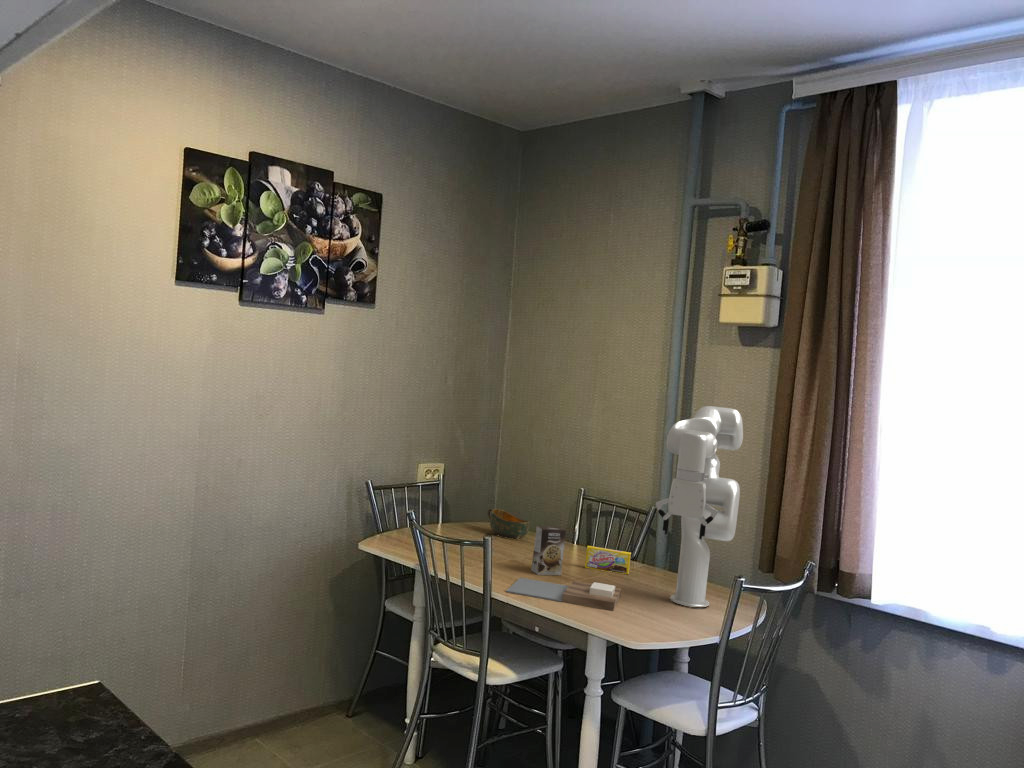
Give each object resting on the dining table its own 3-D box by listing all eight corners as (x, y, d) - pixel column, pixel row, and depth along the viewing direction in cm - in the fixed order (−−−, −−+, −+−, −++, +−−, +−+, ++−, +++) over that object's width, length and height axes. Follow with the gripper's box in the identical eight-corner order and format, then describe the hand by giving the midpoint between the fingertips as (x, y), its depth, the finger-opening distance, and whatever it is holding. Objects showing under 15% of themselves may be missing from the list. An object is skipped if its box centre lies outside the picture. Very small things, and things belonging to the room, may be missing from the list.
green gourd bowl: (510, 530, 363) (513, 507, 363) (530, 542, 345) (533, 517, 344) (483, 530, 358) (486, 507, 357) (502, 542, 339) (504, 517, 339)
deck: (572, 588, 276) (573, 580, 276) (620, 596, 272) (621, 589, 272) (562, 601, 259) (563, 593, 259) (613, 610, 255) (614, 602, 255)
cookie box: (538, 575, 289) (543, 529, 289) (530, 570, 295) (535, 525, 295) (561, 575, 293) (566, 530, 292) (554, 570, 299) (559, 526, 298)
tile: (593, 588, 270) (593, 582, 270) (614, 591, 268) (615, 585, 268) (589, 594, 262) (590, 587, 262) (611, 597, 260) (612, 591, 260)
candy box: (584, 568, 308) (586, 546, 307) (585, 567, 310) (587, 545, 309) (628, 575, 304) (630, 553, 304) (628, 574, 306) (631, 552, 306)
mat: (520, 579, 281) (520, 577, 281) (572, 588, 277) (572, 586, 277) (506, 592, 263) (506, 590, 263) (561, 602, 258) (562, 600, 258)
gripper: (720, 478, 238) (714, 538, 238) (659, 470, 242) (653, 529, 242) (721, 482, 231) (714, 543, 231) (658, 473, 234) (651, 533, 235)
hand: (683, 536), depth 237 cm, fingers open, 9 cm apart
